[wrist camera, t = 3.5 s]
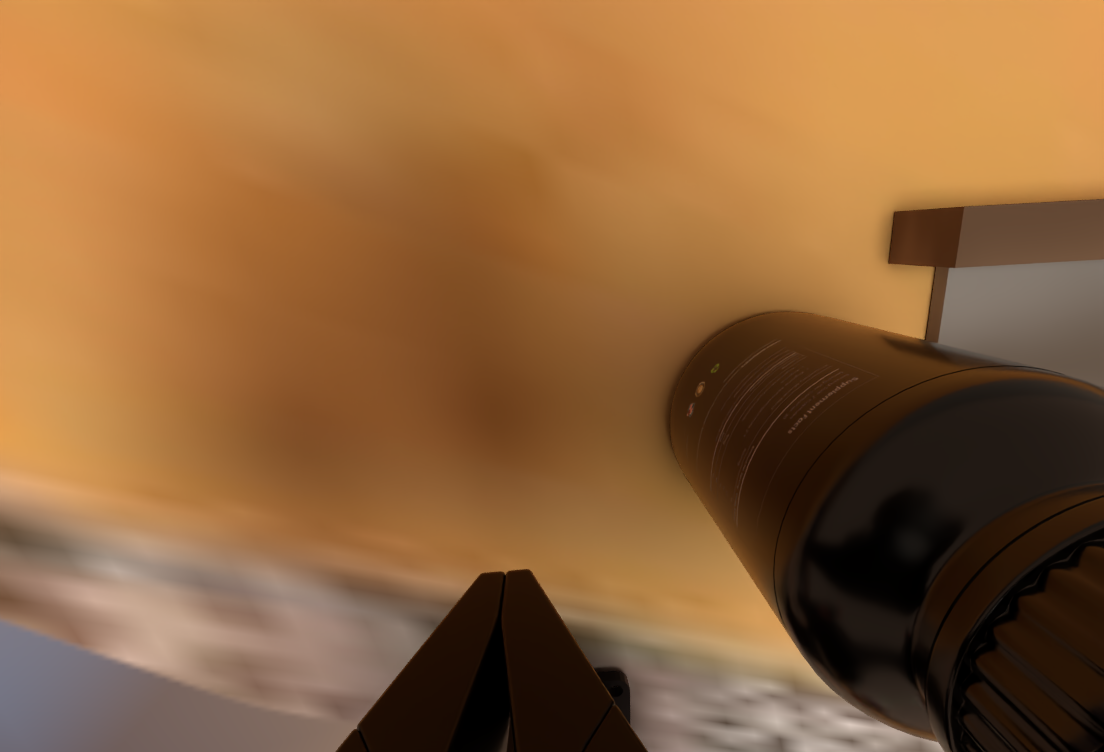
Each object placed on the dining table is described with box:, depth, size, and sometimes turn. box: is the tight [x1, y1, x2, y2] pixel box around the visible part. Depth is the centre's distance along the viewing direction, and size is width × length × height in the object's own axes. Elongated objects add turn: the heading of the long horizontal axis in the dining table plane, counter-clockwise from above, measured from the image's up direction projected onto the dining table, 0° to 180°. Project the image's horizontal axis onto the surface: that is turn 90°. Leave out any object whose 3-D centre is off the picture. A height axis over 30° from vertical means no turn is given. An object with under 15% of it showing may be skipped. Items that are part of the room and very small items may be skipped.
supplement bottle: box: [670, 312, 1104, 752], centre depth 11 cm, size 7×7×12 cm
